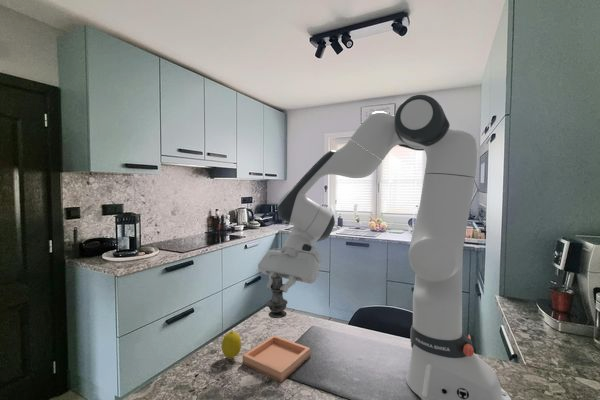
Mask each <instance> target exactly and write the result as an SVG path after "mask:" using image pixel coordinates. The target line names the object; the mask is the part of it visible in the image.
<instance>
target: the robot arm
mask: <svg viewBox="0 0 600 400" xmlns="http://www.w3.org/2000/svg"><path fill="white" fill-rule="evenodd" d="M396 146H399V147H402V148H407V149H409V150H414V151H419V152H420V151H424V153H425V154H426V161H425V162H426V163H425V168H424V175H423V180H422V189H421V193H420V201H419V206H418V210H417V214H416V218H415V222H414V226H413V230H412V234H411V235H412V236H411V240H410V246H409V249H408V263H409V266H410V267H411V270H413V272H414V274H415V276H414V285H413V293H412V323H411V325H410V327H411V328H410V347H411V353H410V360H409V361H410V362H409V366H408V369H407V372H406V376H405V381H406V384H407V386H408V387H409V388H410V390H412V391H413V393H414V394H415V395H417V396H418V397H419V398H420V400H512V398H511V396H510V395H509V394H508V392H507V391H506V390H505V389H503V387H501V384H500V381H499V378H498V376H497V374H496V372H495V371H494V369H493V368H492V367H491V366H490V365H488V364H487V362H485V361H484V360H483V359H481V357H479V356H478V355H477V354H476V353H475V352H474V346H473V341H472V340H471V335H470V334H468V336H467V335H466V334H465V333H464V332H463V263H464V262H463V259H464V258H463V257H464V254H463V251H464V246H465V239H466V235H467V227H468V222H469V215H470V209H471V204H472V198H473V193H474V187H475V181H476V179H475V178H476V173H477V161H478V159H477V158H478V150H477V147H478V146H477V140H476V138H475V137H474V136H473V134H471V133H469V132H468V131H464V130H459V129H451V128H450V122H449V120H448V118H447V116H446V114H445V111H444V109H443V107H442V105H441V104H440V103H439V102H438V101H437V100H436V99H435V98H433V97H432V96H430V95H426V94H416V95H413V96H410V97H408V98H407V99H404V101H402V102H401V103H400V105H399V106H398V107H397V110H396V112H395V114H394V115H393V114H390V113H388V112H385V111H374V112H372V113H371V114H370V115H369V116H368V117H367V118H366V119H364V121H363V122H362V123H361V124H360V125H359V126H358V128H357V129H356V130H355V131H354V133H353V135H352V136H351V137H350V139H349V140H348V141H347V142H346V143H345V144H344V145H343V146H342V147H341V148H339V149H336V150H334V149H332V150H328V152H326V153H325V154H323V156H322V157H320V159H318V160H317V162H315V163H314V165H312V167H311V168H310V169H309V170H308V171H307V172H306V173H305V174H303V176H302V177H301V178H300V179H299V181H298V182H297V183H296V184H295V185H294V186H293V187H292V188H291V189H290V190H288V191H287V192H286V193H285V194H283V196H282V197H281V198H280V199H279V200H278V202H277V206H276V210H277V214H278V217H279V219H280V220H282V221H284V222H286V223H288V224H291V225H293V227H292V231H291V233H289V234H288V236H287V238H286V239H285V242H283V245H282V246H281V248H277V247H273V248H270V249H269V250H268V251H267V252H266V253H265V254H264V255H263V257H262V258H261V260H260V261H259V263H258V264H257V270H258V271H260V273H262V274H263V275H267V276H268V282H267V284H266V287H267V288H268V289H269V290H271V289H272V288H273V278H274V277H276V276H277V273H278V276H279V277H281V278H282V279H287V281H286V282H285V283H282V287H281V288H280V290H281V291H282V292H283V293H288V291H289V289H290V288H291V287H292V286H293V285H295V283H296V282H302V283H305V284H311V285H312V284H313V283H314V282H316V280H317V278H318V275H319V272H320V268H321V266H320V264H321V263H322V260H323V258H322V256H321V254H320V253H319V251H318V249H317V248H316V247H315V246H314V243H315V242H321V241H324V240H326V239H328V238H329V237H330V236H331V233H332V231H333V229H334V227H335V223H336V221H335V220H336V219H335V216H334V213H332V212H331V211H330V210H328V209H327V208H326V207H324V206H322V205H321V204H318V203H317V202H315V201H314V200H312V199H311V198H309V197H308V196H306V194H307V193H308V192H309V190H310V189H311V188H312V187H313V186H314V185H315V184H317V182H318V181H320V179H321V178H323V177H325V176H327V175H332V176H333V175H335V176H341V177H346V178H351V179H363V178H367V177H369V176H371V175H372V174H373V173H374V172H375V170H377V169H378V167H379V166H380V165H381V164H382V163H383V161H384V160H385V158H386V156H387V155H388V154H389V152H390V151H391V150H392V149H393V148H394V147H396Z"/></svg>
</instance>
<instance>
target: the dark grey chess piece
mask: <svg viewBox="0 0 600 400" xmlns="http://www.w3.org/2000/svg"><path fill="white" fill-rule="evenodd" d="M282 284H283V278H281V277H279V276H278V273H277V276H276V277H274V278H273V288H272V289H270V290H271V292H272V293H271V295H272V297H271V299H269V300H268V301H267V305H268V308H269V310H270V311H269V312H268V317H270V318H272V319H282V318H284V317H286V316H287V312H286V311H285V310H286V308H287V304H288V300H287V299H285V298H284V294H283V293H284V292H282V291H281V290H280V288H281V287H282Z"/></svg>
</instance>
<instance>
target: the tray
mask: <svg viewBox="0 0 600 400" xmlns="http://www.w3.org/2000/svg"><path fill="white" fill-rule="evenodd" d="M310 358H311V347H308V346H305V345H303V344H300V343H297V342H294V341H291V340H290V339H286V338H283V337H281V336H278V335H275V334H274V335H272V336H271V337H268V338H267V339H266V340H263V342H261V343H259V344H257V345H256V346H254V347H253V348H252V349H250V350H249V351H247V352H245V353H244V354H242V364H243V365H245V366H247V367H249V368H251V369H253V370H255V371H257V372H259V373H260V374H263V375H265V376H267V377H269V378H272V379H274V380H275V381H277V382H280V383H282V382H284V380H286V379H287V378H288V377H289V376H290V375H292V373H295V371H296V370H297V369H299V368H300V366H302V365H303V364H304V363H305V362H306V361H307V360H308V359H310ZM305 360H306V361H305ZM304 361H305V362H304ZM303 362H304V363H303ZM302 363H303V364H302Z"/></svg>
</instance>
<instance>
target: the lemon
mask: <svg viewBox="0 0 600 400" xmlns="http://www.w3.org/2000/svg"><path fill="white" fill-rule="evenodd" d="M241 339H242V338H241V337H240V335H239V333H237V332H236V331H233V330H231V331H229V332H227V333H226V334H225V335H224V336H223V338H222V341H221V351H222V354H223V355H224V357H225V358H229V359H231V360H233V359H234V358H235V357H236V356H238V355H239V353H240V351H241V349H242V340H241Z"/></svg>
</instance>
